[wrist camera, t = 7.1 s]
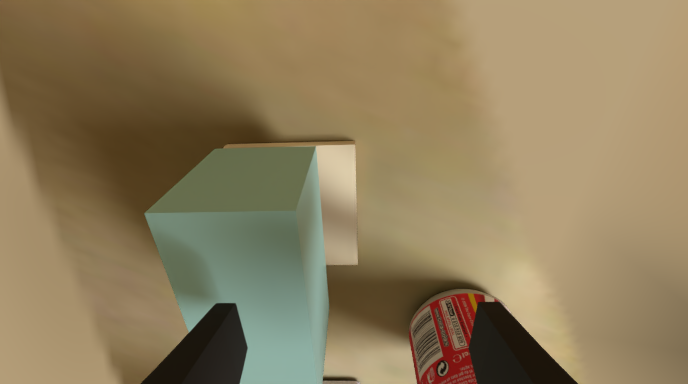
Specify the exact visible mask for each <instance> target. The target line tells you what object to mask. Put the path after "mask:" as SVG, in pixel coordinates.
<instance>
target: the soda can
mask: <svg viewBox="0 0 688 384" xmlns="http://www.w3.org/2000/svg"><path fill="white" fill-rule="evenodd" d="M478 302H500V303H501V304H502V305H503V306H504V307H505V308H506V309H507V310H508V311H509V312H510V310H509V309H508V308H507V306H506V305H505V304H504V303H503V302H502V301H500V300H499V299H497V298H496V297H494V296H491V295H489V294H486V293H483V292H480V291H477V290H472V289H453V290H448V291H445V292H442V293H439V294H437V295H435V296H433V297H431V298H430V299H428V300H427V301H426V302H425V303H424V304H423V305H422V306H421V307H420V308H419V309H418V310H417V312H416V313H415V315H414V316H413V318H412V320H411V323H410V326H409V339H410V345H411V351H412V357H413V362H414V368H415V374H416V379H417V384H477V381H476V377H475V373H474V369H473V365H472V361H471V357H470V353H469V349H468V348H469V343H470V338H471V334H472V329H473V324H474V319H475V314H476V310H477V305H478ZM510 313H511V312H510ZM512 316H513V315H512Z"/></svg>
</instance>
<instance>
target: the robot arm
mask: <svg viewBox="0 0 688 384" xmlns="http://www.w3.org/2000/svg"><path fill="white" fill-rule="evenodd" d="M247 349H248V347H247V343H246V339H245V336H244V332H243V328H242V324H241V320H240V317H239V313H238V309H237V305H236V303H216V304H215V305H214V306H213V307H212V308H211V309H210V310H209V311H208V312H207V313H206V314H205V316H204V317H203V318H202V319H201V320H200V321H199V322H198V323H197V324H196V325H195V327H194V328H193V329H192V330H191V331H190V332H189V333H188V334H187V335H186V337H185V338H184V339H183V340H182V341H181V342H180V343H179V344H178V345H177V346H176V347H175V348H174V350H173V351H172V352H171V353H170V354H169V355H168V356H167V357H166V358H165V359H164V360H163V361H162V362H161V363H160V364H159V365H158V367H157V368H156V369H155V370H154V371H153V372H152V373H151V374H150V375H149V376H148V377H147V378H146V379H145V380H144V381H143V382H142V383H141V384H240V380H241V376H242V372H243V368H244V363H245V359H246V354H247ZM468 349H469V353H470V357H471V361H472V365H473V369H474V373H475V377H476V381H477V384H578V383H577V382H576V381H575V380H574V379H573V378H572V377H571V376H570V375H569V374H568V373H567V372H566V371H565V370H564V369H563V368H562V367H561V366H560V365H559V364H558V363H557V362H556V361H555V360H554V359H553V358H552V357H551V356H550V355H549V354H548V353H547V352H546V351H545V350H544V349H543V348H542V347H541V346H540V345H539V344H538V342H537V341H536V340H535V339H534V338H533V337H532V336H531V335H530V334H529V333H528V332H527V331H526V330H525V329H524V328H523V326H522V325H521V324H520V323H519V322H518V321H517V320H516V319H515V318H514V317H513V316H512V314H511V313H510V312H509V311H508V310H507V309H506V308H505V307H504V306H503V305H502V304H501V303H500V302H478V305H477V310H476V314H475V319H474V324H473V329H472V334H471V338H470V343H469V348H468ZM322 384H360V383H359V382H357V381H323V383H322Z"/></svg>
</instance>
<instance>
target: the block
mask: <svg viewBox="0 0 688 384" xmlns="http://www.w3.org/2000/svg"><path fill="white" fill-rule="evenodd" d="M144 214H145V217H146V220H147V222H148V225H149V228H150V230H151V233H152V236H153V238H154V241H155V244H156V246H157V249H158V252H159V254H160V257H161V260H162V262H163V265H164V268H165V270H166V273H167V275H168V278H169V281H170V283H171V286H172V289H173V291H174V294H175V297H176V299H177V302H178V305H179V307H180V310H181V313H182V315H183V318H184V321H185V323H186V326H187V329H188V331H189V332H190V331H191V330H192V329H193V328H194V327H195V325H196V324H197V323H198V322H199V321H200V320H201V319H202V318H203V317H204V316H205V314H206V313H207V312H208V311H209V310H210V309H211V308H212V307H213V306H214V305H215V304H216V303H236V305H237V309H238V313H239V317H240V320H241V324H242V328H243V332H244V336H245V339H246V343H247V347H248V349H247V354H246V359H245V363H244V368H243V372H242V376H241V380H240V384H322V383H323V372H324V361H325V350H326V339H327V328H328V317H329V298H328V286H327V273H326V261H325V249H324V237H323V224H322V212H321V200H320V188H319V176H318V163H317V151H316V146H299V147H261V148H222V149H214V150H213V151H212V152H211V153H210V154H209V155H207V156H206V157H205V158H204V159H203V160H202V161H201V162H200V163H199V164H198V165H197V166H195V167H194V168H193V169H192V170H191V171H190V172H189V173H188V174H187V175H186V176H184V177H183V178H182V179H181V180H180V181H179V182H178V183H177V184H176V185H175V186H173V187H172V188H171V189H170V190H169V191H168V192H167V193H166V194H165V195H164V196H163V197H161V198H160V199H159V200H158V201H157V202H156V203H155V204H154V205H153V206H152V207H150V208H149V209H148V210H147V211H146V212H145V213H144Z"/></svg>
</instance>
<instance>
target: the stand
mask: <svg viewBox="0 0 688 384" xmlns="http://www.w3.org/2000/svg"><path fill="white" fill-rule="evenodd" d="M299 146H316V151H317V163H318V176H319V188H320V200H321V212H322V224H323V237H324V249H325V261H326V265H358V248H357V206H356V163H355V141H330V142H292V143H254V144H227V145H225V146H224V147H223V148H261V147H299Z"/></svg>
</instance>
